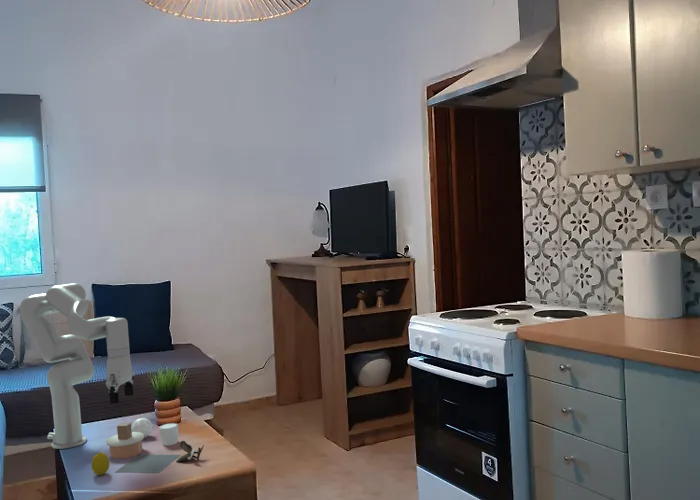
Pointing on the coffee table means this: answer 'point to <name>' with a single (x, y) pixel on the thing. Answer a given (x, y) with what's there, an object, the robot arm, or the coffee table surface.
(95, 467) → the lemon
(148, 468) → the mat
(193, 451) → the eagle figurine
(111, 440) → the lid
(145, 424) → the geometric ball
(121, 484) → the coffee table surface
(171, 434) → the shot glass
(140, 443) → the bowl
